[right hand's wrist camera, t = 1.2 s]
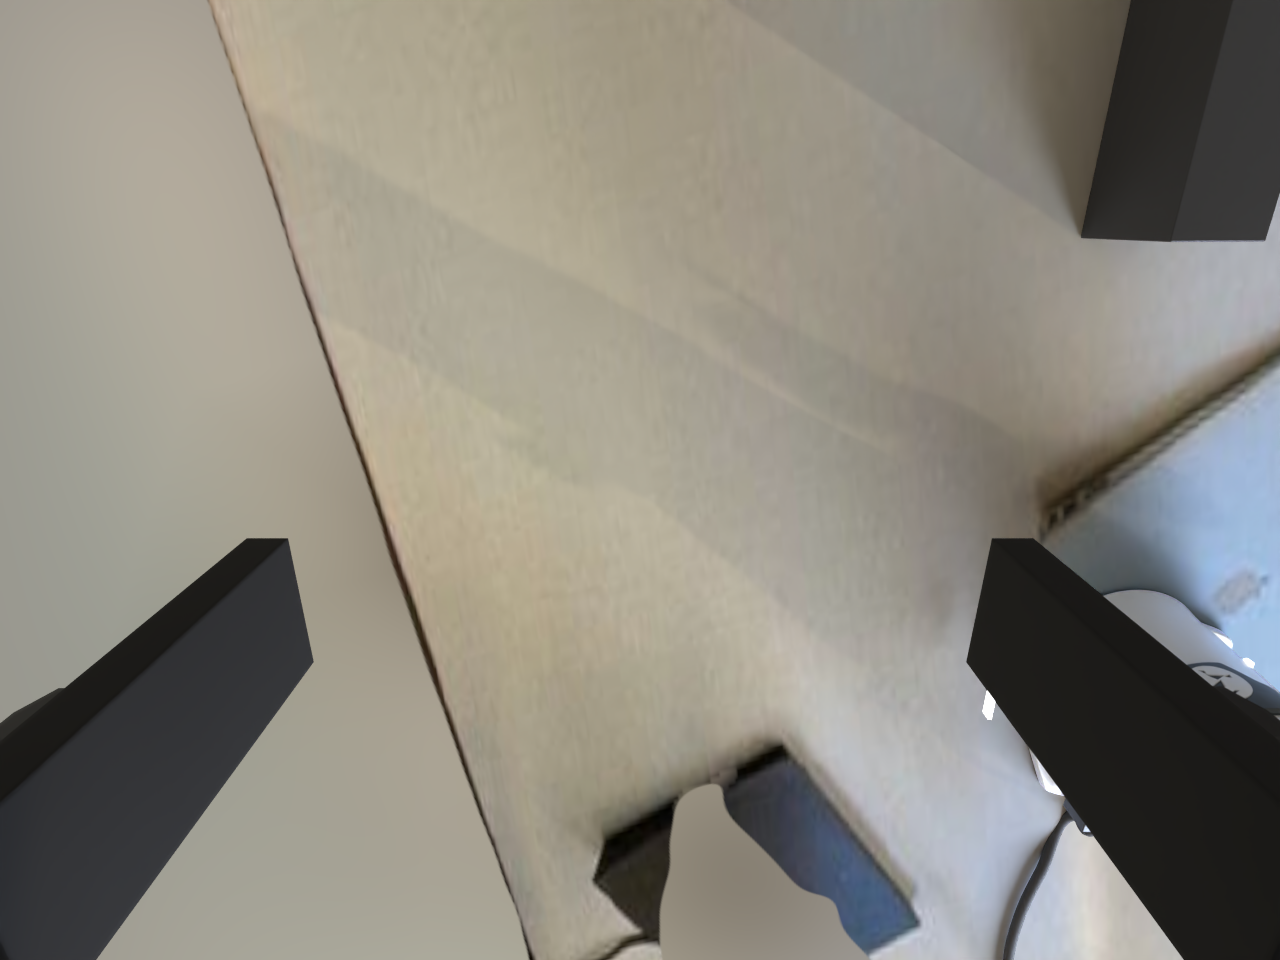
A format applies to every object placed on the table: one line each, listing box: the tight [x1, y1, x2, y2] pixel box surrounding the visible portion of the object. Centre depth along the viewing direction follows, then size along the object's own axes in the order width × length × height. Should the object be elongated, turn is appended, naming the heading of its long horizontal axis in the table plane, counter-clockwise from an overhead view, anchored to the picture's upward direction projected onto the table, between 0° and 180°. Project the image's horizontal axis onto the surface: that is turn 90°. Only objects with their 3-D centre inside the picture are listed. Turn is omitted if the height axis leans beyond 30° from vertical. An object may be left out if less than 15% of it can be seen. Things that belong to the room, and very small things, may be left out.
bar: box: [1081, 0, 1280, 242], centre depth 40 cm, size 24×6×9 cm, turn 0°
